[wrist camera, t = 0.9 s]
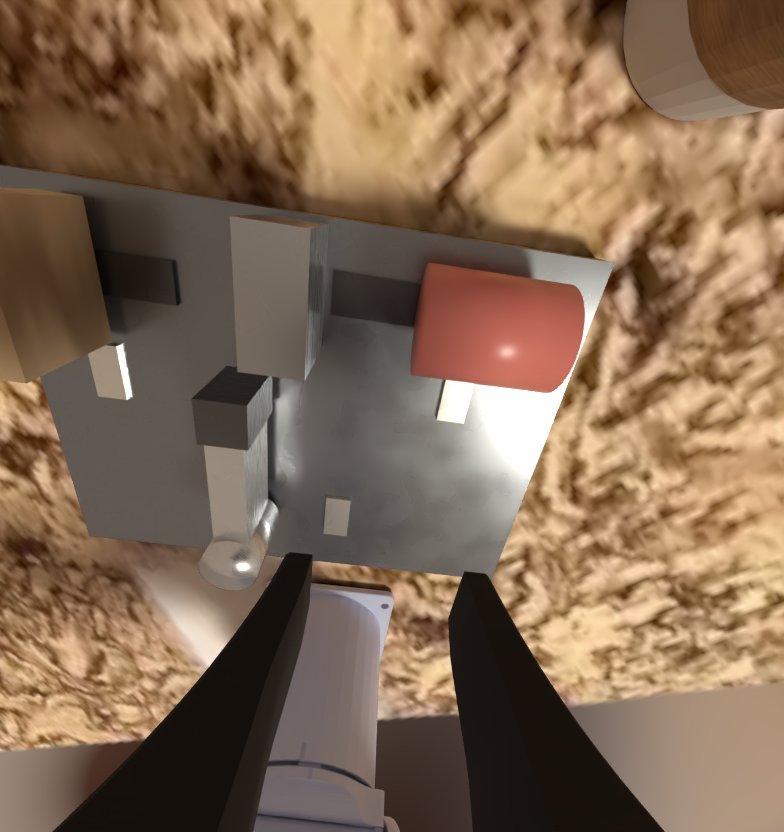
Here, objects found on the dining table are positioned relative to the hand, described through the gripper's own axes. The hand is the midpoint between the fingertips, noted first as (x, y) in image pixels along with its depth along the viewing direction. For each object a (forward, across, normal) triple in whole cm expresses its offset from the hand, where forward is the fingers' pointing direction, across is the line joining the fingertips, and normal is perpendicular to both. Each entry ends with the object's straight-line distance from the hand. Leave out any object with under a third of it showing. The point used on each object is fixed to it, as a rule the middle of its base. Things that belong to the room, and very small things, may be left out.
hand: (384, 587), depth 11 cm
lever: (+7, +6, +2) cm, 10 cm away
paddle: (+7, +12, -5) cm, 15 cm away
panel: (+9, +4, 0) cm, 10 cm away
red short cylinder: (+7, -2, -6) cm, 10 cm away
